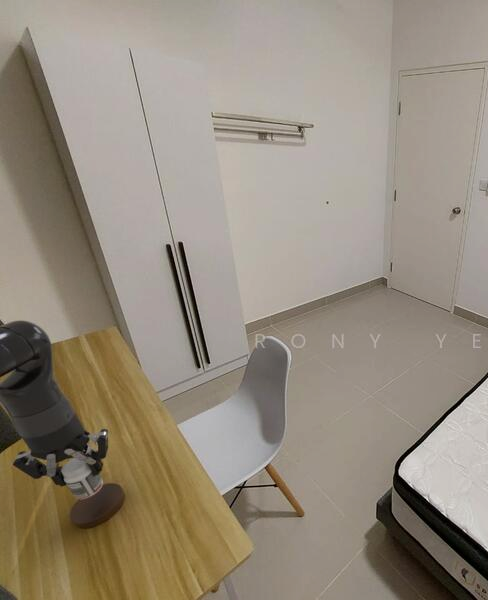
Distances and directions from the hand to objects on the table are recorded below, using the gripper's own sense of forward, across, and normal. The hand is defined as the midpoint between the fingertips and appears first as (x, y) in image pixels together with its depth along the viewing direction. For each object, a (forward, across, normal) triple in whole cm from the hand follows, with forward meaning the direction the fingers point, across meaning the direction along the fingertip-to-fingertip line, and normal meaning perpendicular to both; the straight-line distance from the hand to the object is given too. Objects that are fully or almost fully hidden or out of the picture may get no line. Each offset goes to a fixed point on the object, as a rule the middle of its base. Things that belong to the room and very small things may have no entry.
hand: (81, 476), depth 69 cm
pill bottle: (+5, 0, 0) cm, 5 cm away
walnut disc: (+11, 0, 0) cm, 11 cm away
